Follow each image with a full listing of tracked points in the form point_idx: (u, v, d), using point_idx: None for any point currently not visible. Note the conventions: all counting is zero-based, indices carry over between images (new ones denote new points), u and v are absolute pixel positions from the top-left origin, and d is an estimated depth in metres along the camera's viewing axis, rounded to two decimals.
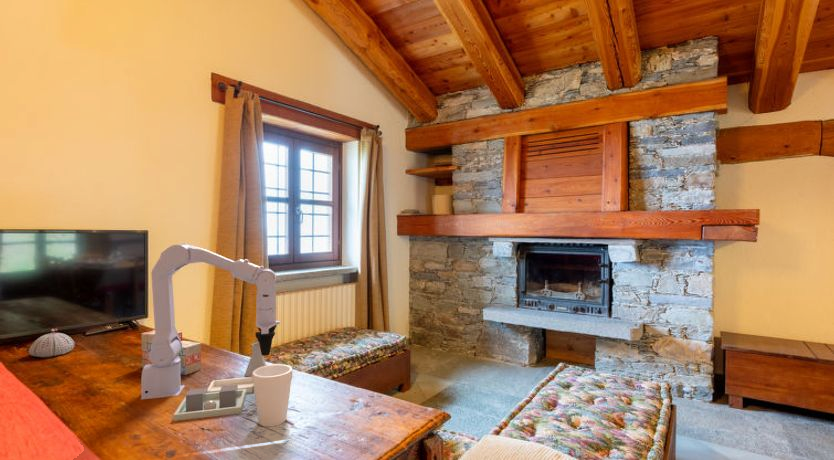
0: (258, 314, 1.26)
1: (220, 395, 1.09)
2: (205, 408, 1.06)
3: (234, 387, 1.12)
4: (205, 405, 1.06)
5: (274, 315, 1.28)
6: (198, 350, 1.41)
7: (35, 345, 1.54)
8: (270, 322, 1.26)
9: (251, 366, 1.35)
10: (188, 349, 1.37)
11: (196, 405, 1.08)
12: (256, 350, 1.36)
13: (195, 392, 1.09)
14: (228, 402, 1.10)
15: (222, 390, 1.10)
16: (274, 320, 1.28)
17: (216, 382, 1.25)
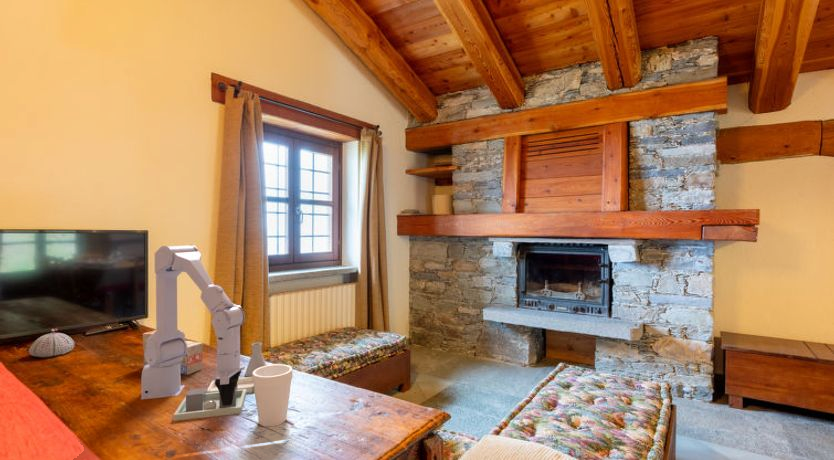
0: (218, 359, 1.10)
1: None
2: (205, 408, 1.06)
3: None
4: (205, 405, 1.06)
5: (237, 360, 1.11)
6: (200, 350, 1.41)
7: (35, 345, 1.54)
8: (232, 368, 1.10)
9: (251, 366, 1.35)
10: (190, 349, 1.37)
11: (196, 405, 1.08)
12: (256, 350, 1.36)
13: (195, 392, 1.09)
14: None
15: None
16: (237, 366, 1.11)
17: None
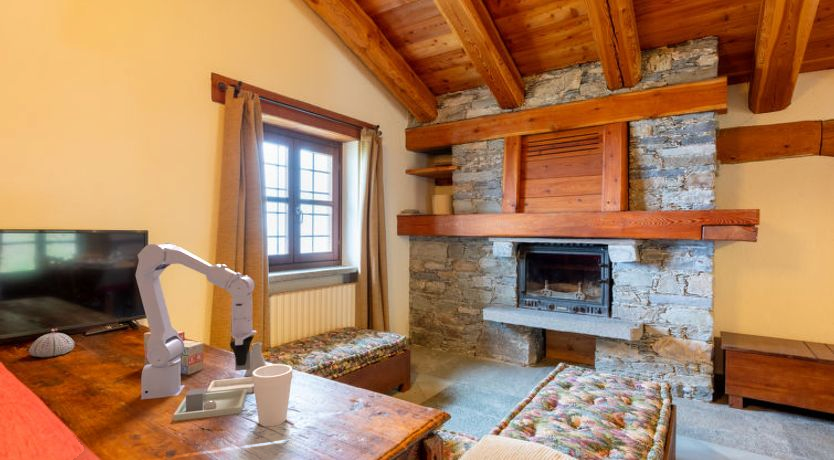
0: (233, 324, 1.20)
1: None
2: (205, 408, 1.06)
3: (248, 352, 1.23)
4: (205, 405, 1.06)
5: (250, 325, 1.22)
6: (201, 349, 1.41)
7: (35, 345, 1.54)
8: (246, 332, 1.21)
9: (251, 366, 1.35)
10: (191, 349, 1.37)
11: (196, 405, 1.08)
12: (256, 350, 1.36)
13: (195, 392, 1.09)
14: None
15: None
16: (250, 330, 1.22)
17: (216, 382, 1.25)
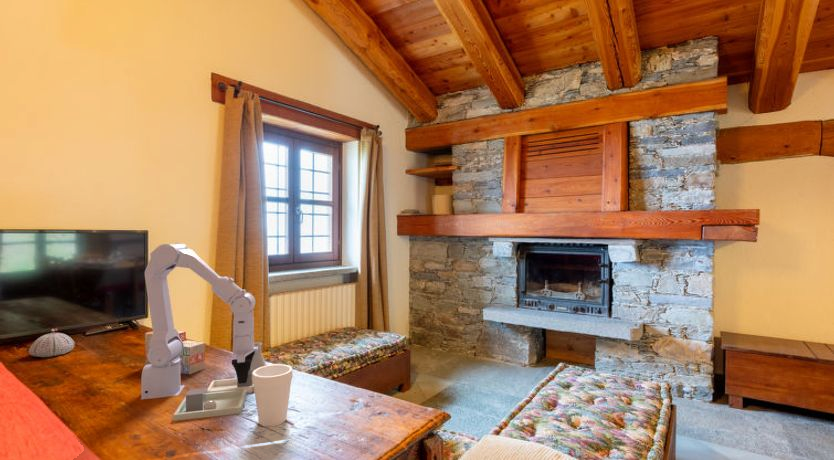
0: (235, 341, 1.22)
1: None
2: (205, 408, 1.06)
3: (250, 371, 1.25)
4: (205, 405, 1.06)
5: (252, 341, 1.24)
6: (202, 349, 1.41)
7: (35, 345, 1.54)
8: (247, 349, 1.22)
9: (251, 366, 1.35)
10: (192, 349, 1.37)
11: (196, 405, 1.08)
12: None
13: (195, 392, 1.09)
14: (245, 384, 1.22)
15: None
16: (252, 347, 1.24)
17: (216, 382, 1.25)
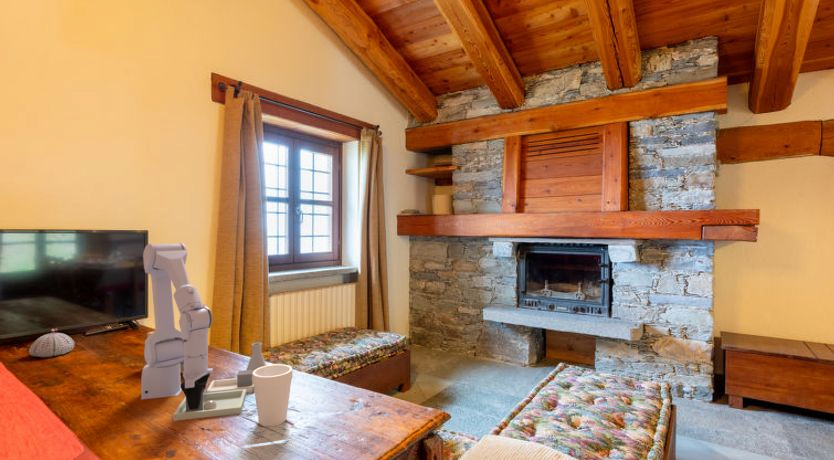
0: (185, 362, 1.07)
1: (238, 378, 1.22)
2: (205, 408, 1.06)
3: (250, 371, 1.25)
4: (205, 405, 1.06)
5: (205, 363, 1.09)
6: None
7: (35, 345, 1.54)
8: (199, 372, 1.08)
9: (251, 366, 1.35)
10: None
11: None
12: (256, 350, 1.36)
13: None
14: (245, 384, 1.22)
15: (239, 374, 1.23)
16: (205, 369, 1.09)
17: (216, 382, 1.25)
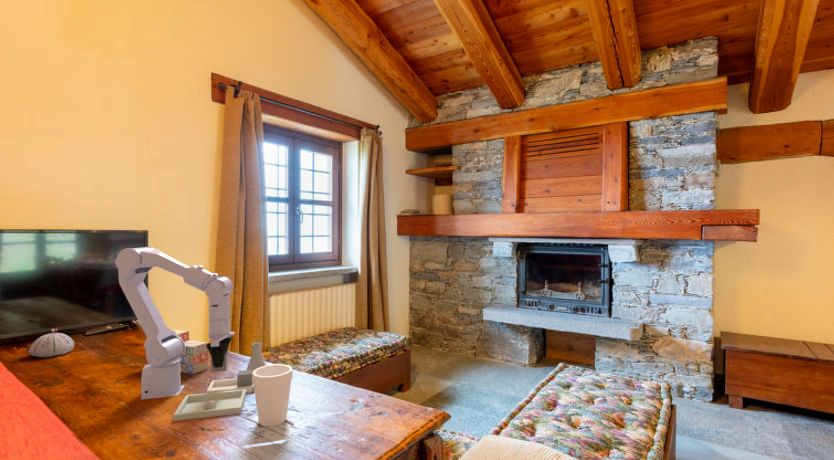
0: (210, 325, 1.19)
1: (238, 378, 1.22)
2: (205, 408, 1.06)
3: (250, 371, 1.25)
4: (205, 405, 1.06)
5: (227, 326, 1.20)
6: (205, 349, 1.42)
7: (35, 345, 1.54)
8: (223, 334, 1.19)
9: (251, 366, 1.35)
10: (196, 348, 1.38)
11: None
12: (256, 350, 1.36)
13: None
14: (245, 384, 1.22)
15: (239, 374, 1.23)
16: (228, 331, 1.20)
17: (216, 382, 1.25)
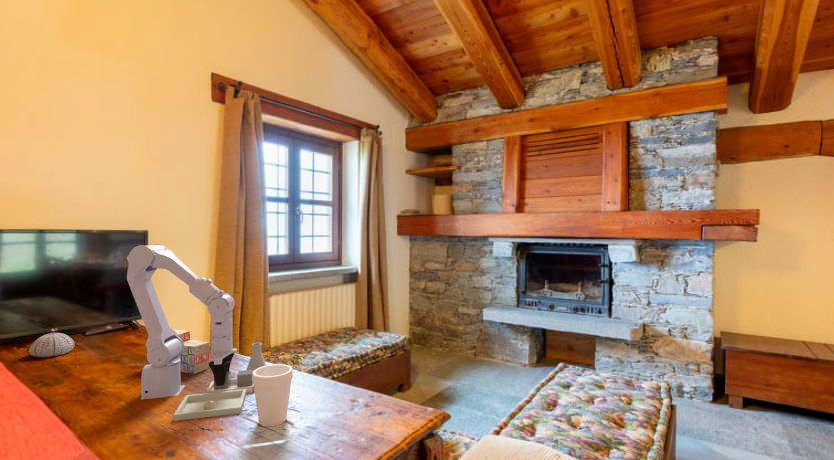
0: (213, 342, 1.20)
1: (238, 378, 1.22)
2: (205, 408, 1.06)
3: (250, 371, 1.25)
4: (205, 405, 1.06)
5: (230, 343, 1.22)
6: (206, 349, 1.42)
7: (35, 345, 1.54)
8: (225, 351, 1.20)
9: (251, 366, 1.35)
10: (197, 348, 1.38)
11: (223, 386, 1.21)
12: (256, 350, 1.36)
13: None
14: (245, 384, 1.22)
15: (239, 374, 1.23)
16: (230, 348, 1.22)
17: None
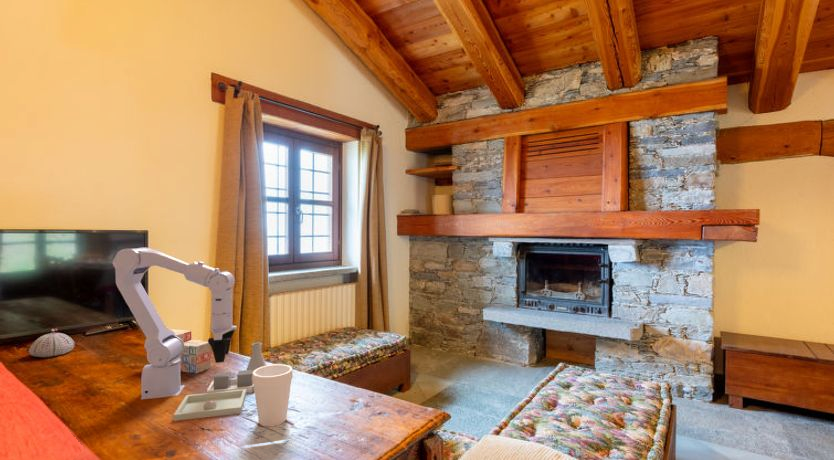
0: (212, 319, 1.20)
1: (238, 378, 1.22)
2: (205, 408, 1.06)
3: (250, 371, 1.25)
4: (205, 405, 1.06)
5: (230, 320, 1.22)
6: (208, 349, 1.42)
7: (35, 345, 1.54)
8: (225, 327, 1.20)
9: (251, 366, 1.35)
10: (198, 348, 1.38)
11: (223, 386, 1.21)
12: (256, 350, 1.36)
13: (222, 375, 1.22)
14: (245, 384, 1.22)
15: (239, 374, 1.23)
16: (230, 325, 1.22)
17: None
